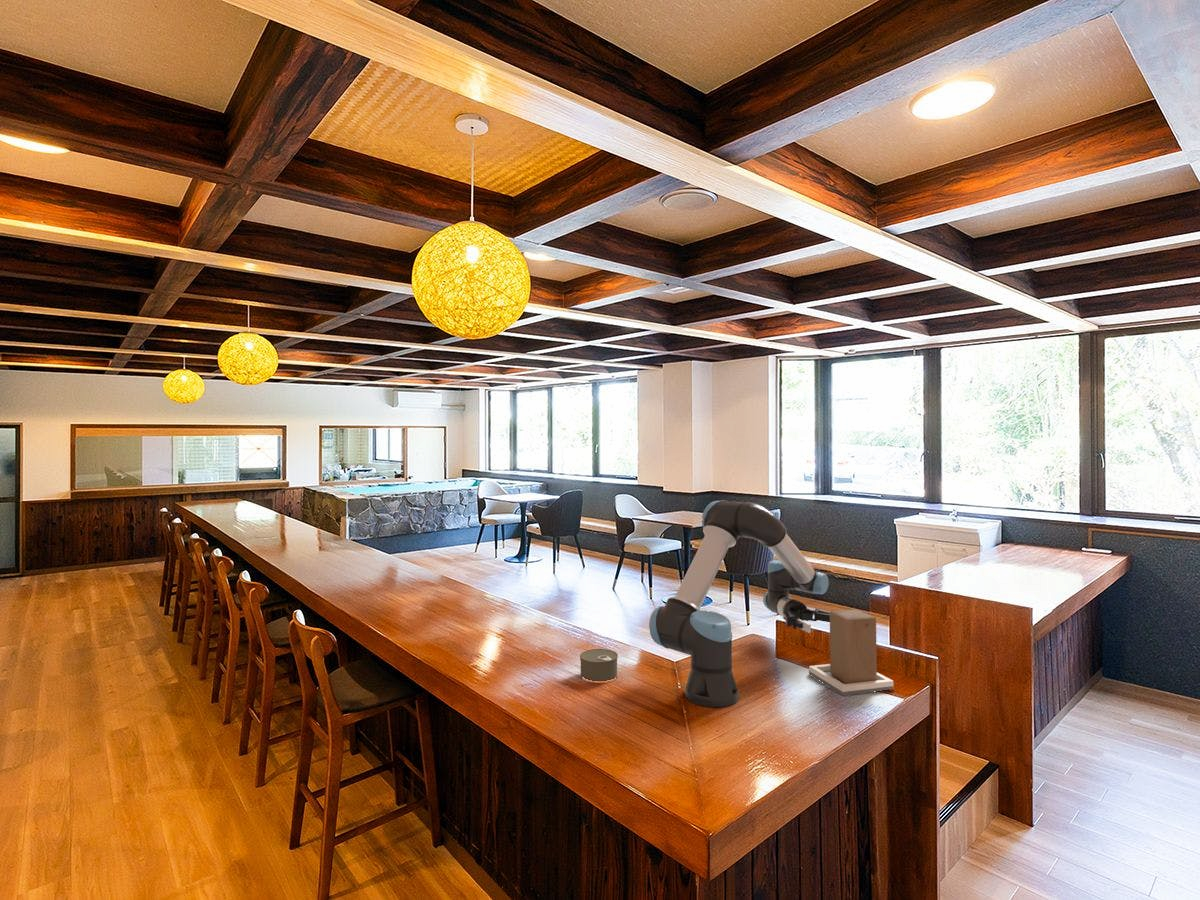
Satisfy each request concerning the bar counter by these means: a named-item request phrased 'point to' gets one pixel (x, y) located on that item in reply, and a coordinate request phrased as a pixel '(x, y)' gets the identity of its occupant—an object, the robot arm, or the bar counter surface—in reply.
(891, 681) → the locating plate
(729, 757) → the bar counter surface
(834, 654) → the wooden block
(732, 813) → the bar counter surface
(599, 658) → the can
